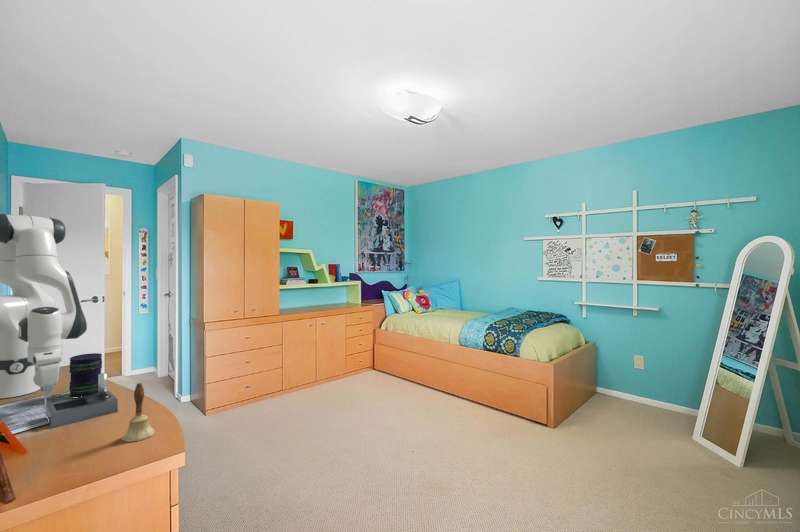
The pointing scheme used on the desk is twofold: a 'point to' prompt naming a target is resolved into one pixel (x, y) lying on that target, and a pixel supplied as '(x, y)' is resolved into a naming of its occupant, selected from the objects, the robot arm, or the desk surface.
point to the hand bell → (138, 420)
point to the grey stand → (83, 406)
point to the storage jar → (85, 374)
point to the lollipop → (36, 381)
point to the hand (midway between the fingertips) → (45, 393)
